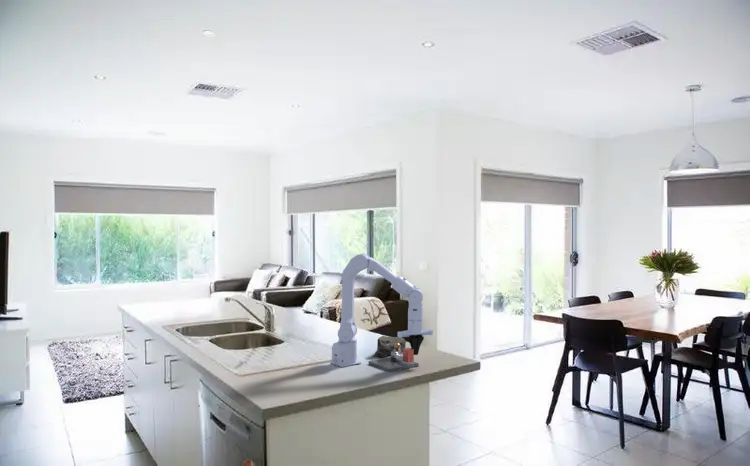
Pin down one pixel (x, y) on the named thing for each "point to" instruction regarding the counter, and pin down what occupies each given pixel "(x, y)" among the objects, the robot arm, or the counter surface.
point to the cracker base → (393, 362)
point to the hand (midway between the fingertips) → (415, 354)
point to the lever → (404, 355)
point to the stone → (388, 345)
